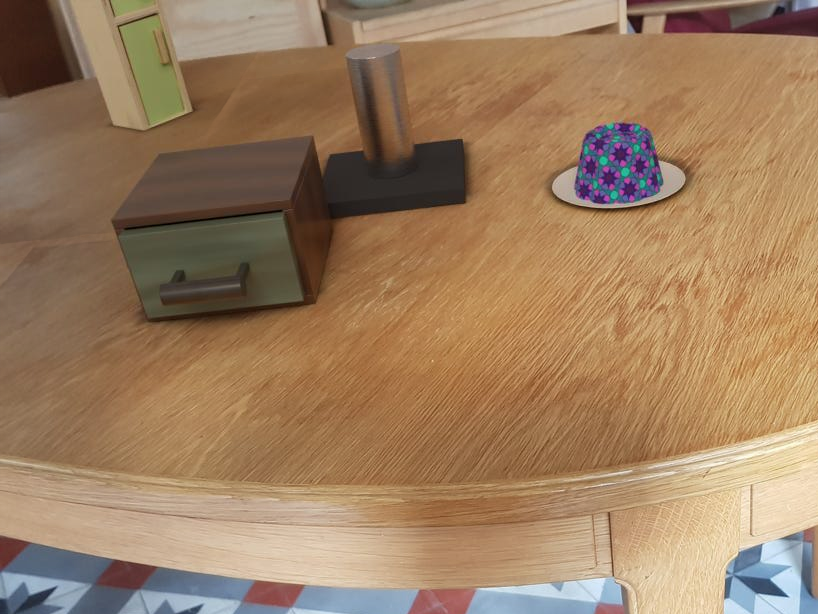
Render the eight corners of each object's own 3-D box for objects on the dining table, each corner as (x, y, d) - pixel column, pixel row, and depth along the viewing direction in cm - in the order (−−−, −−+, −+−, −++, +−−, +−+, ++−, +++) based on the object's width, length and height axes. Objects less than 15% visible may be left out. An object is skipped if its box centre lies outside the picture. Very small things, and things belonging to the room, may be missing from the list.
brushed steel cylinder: (365, 181, 91) (342, 61, 84) (369, 163, 95) (347, 47, 88) (417, 175, 91) (398, 54, 84) (418, 157, 95) (400, 40, 88)
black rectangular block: (317, 220, 89) (314, 204, 88) (332, 168, 100) (329, 154, 99) (465, 203, 88) (464, 187, 87) (464, 152, 99) (462, 138, 98)
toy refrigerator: (148, 138, 116) (86, -56, 103) (113, 132, 120) (49, -56, 107) (199, 118, 120) (145, -70, 108) (164, 112, 124) (108, -70, 112)
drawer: (296, 327, 70) (274, 241, 66) (132, 346, 71) (100, 261, 66) (322, 231, 84) (305, 155, 80) (185, 247, 85) (162, 172, 81)
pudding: (697, 207, 81) (699, 146, 78) (558, 222, 82) (554, 163, 79) (672, 159, 91) (673, 103, 88) (547, 173, 92) (544, 118, 88)
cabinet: (315, 303, 75) (290, 198, 70) (147, 322, 76) (110, 219, 70) (333, 229, 86) (313, 134, 81) (188, 246, 87) (158, 153, 82)
